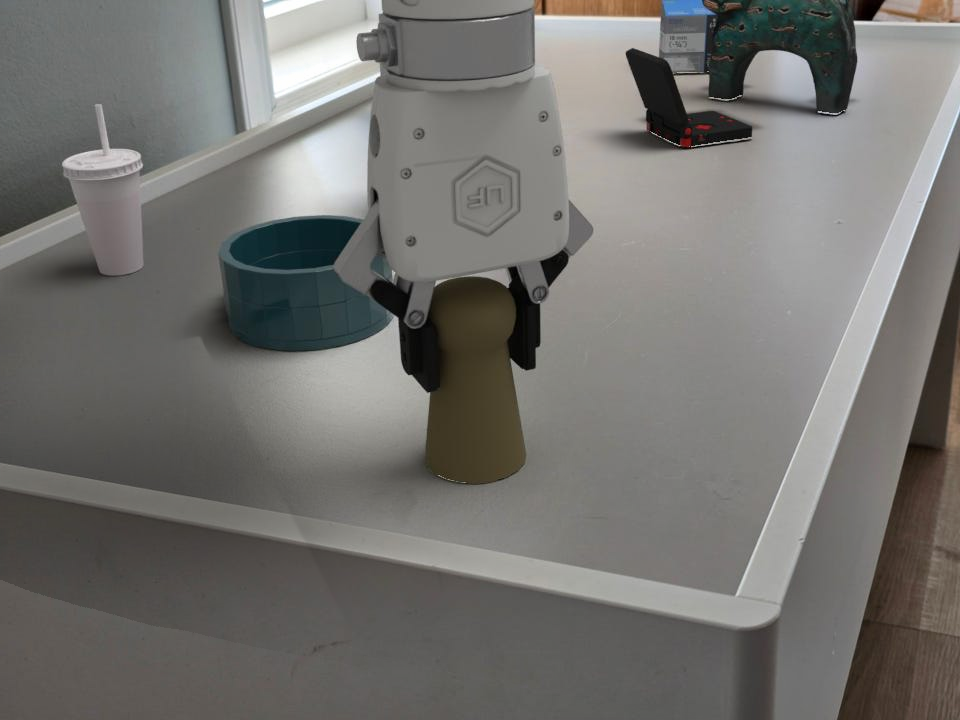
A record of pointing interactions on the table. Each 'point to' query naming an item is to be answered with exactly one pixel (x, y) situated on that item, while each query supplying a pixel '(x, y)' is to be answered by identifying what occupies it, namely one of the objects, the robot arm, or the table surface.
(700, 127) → the handheld gaming console
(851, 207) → the table surface
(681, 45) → the tape cartridge
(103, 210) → the smoothie
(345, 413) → the table surface
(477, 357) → the cork
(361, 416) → the table surface
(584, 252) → the table surface
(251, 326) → the bowl
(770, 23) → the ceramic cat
